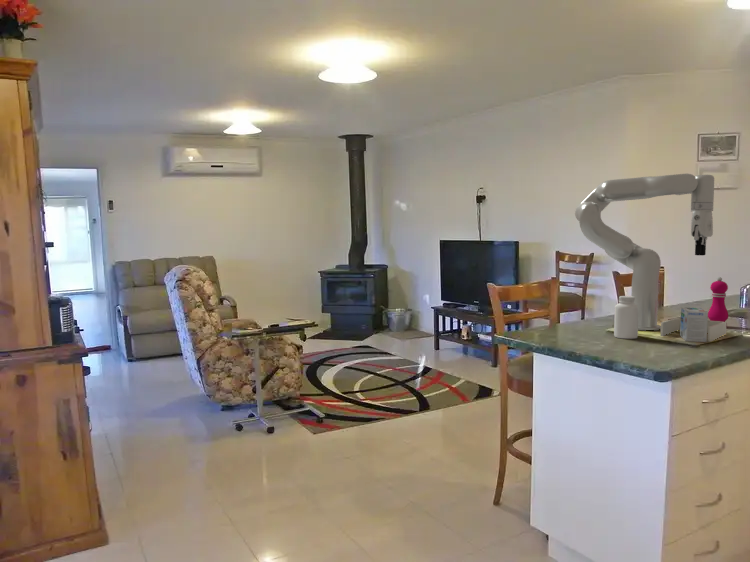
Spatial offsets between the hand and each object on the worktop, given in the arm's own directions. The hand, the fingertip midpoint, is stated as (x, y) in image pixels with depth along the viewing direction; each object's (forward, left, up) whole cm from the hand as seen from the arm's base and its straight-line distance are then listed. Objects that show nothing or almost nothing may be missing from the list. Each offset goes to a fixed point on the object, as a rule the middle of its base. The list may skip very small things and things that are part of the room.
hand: (700, 255), depth 223 cm
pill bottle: (-20, -32, -29) cm, 48 cm away
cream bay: (0, -16, -29) cm, 33 cm away
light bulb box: (+1, -23, -29) cm, 37 cm away
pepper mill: (+6, +12, -29) cm, 32 cm away
